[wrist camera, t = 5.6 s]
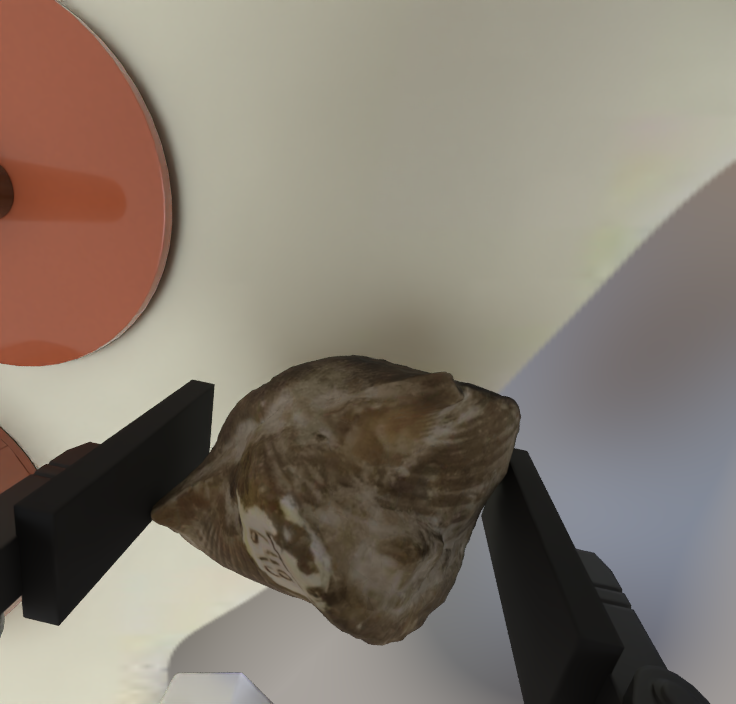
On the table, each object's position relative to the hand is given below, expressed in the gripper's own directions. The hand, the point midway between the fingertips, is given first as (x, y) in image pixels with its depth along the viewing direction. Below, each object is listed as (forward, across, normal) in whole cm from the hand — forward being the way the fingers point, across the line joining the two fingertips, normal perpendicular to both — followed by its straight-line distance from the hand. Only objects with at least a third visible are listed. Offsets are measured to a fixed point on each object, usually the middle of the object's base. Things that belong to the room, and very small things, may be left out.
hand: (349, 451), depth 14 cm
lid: (+6, -18, +6) cm, 20 cm away
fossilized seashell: (0, 0, 0) cm, 0 cm away
